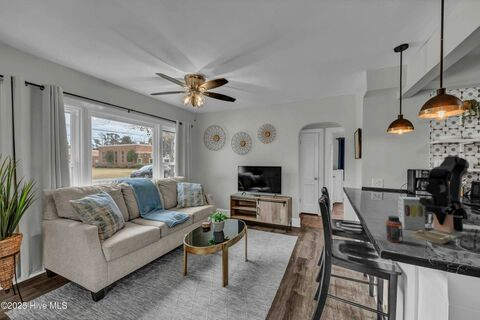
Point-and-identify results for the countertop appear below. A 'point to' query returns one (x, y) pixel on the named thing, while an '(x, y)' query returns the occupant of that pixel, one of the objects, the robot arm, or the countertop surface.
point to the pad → (447, 233)
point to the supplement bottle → (394, 229)
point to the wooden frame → (431, 236)
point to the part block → (446, 226)
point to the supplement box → (411, 213)
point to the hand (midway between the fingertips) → (443, 224)
